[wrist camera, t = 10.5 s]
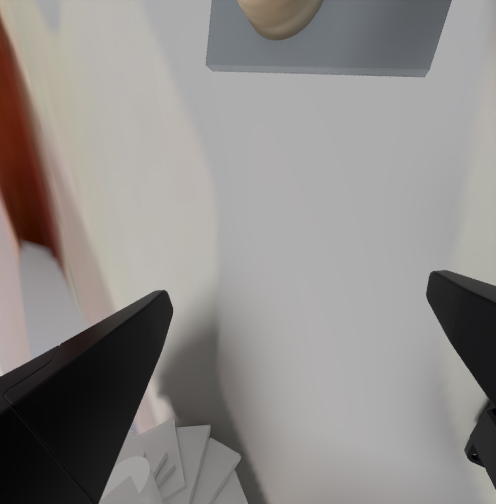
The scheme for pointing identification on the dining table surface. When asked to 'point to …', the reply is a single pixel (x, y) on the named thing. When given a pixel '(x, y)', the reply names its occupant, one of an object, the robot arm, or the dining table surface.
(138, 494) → the spiral staircase
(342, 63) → the slate board
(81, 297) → the dining table surface
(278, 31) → the pepper mill
